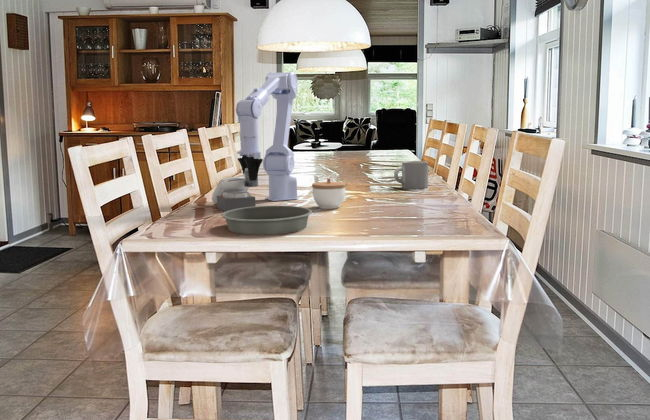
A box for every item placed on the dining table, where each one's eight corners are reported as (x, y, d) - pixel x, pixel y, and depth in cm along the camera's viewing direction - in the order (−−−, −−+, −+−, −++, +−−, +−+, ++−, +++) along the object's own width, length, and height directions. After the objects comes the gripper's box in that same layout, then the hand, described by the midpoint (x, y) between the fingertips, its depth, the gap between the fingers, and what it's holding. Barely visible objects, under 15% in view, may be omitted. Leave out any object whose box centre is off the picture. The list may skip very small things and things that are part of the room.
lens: (255, 185, 233) (254, 167, 232) (260, 186, 229) (259, 168, 228) (242, 185, 231) (241, 168, 230) (246, 187, 227) (246, 169, 226)
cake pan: (233, 220, 208) (233, 205, 208) (317, 220, 206) (316, 205, 205) (211, 236, 184) (211, 219, 183) (306, 236, 182) (305, 219, 181)
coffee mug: (424, 185, 282) (424, 160, 280) (430, 188, 272) (430, 162, 270) (391, 186, 280) (391, 161, 279) (395, 189, 271) (395, 163, 269)
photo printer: (237, 192, 244) (250, 172, 234) (241, 203, 242) (253, 183, 233) (209, 194, 238) (221, 174, 229) (213, 205, 237) (225, 186, 227)
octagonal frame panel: (246, 205, 235) (246, 190, 235) (255, 209, 227) (255, 193, 227) (217, 208, 231) (216, 192, 230) (225, 211, 223) (224, 195, 222)
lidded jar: (307, 209, 226) (307, 179, 224) (319, 204, 236) (318, 176, 234) (339, 210, 222) (339, 180, 221) (350, 205, 232) (349, 177, 231)
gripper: (230, 137, 233) (231, 178, 235) (244, 138, 220) (246, 182, 222) (250, 136, 236) (251, 177, 238) (266, 138, 223) (267, 181, 225)
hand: (250, 179), depth 230 cm, fingers closed on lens, 4 cm apart
